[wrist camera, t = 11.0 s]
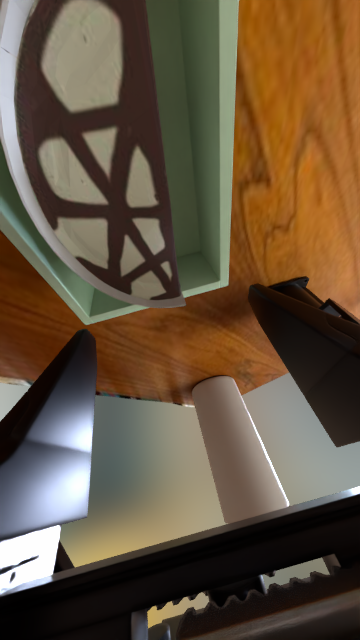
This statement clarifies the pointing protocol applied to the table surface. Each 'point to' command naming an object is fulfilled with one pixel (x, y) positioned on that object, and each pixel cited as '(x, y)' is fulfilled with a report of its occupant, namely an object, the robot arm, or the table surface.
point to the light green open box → (167, 156)
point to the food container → (90, 142)
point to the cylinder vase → (235, 452)
